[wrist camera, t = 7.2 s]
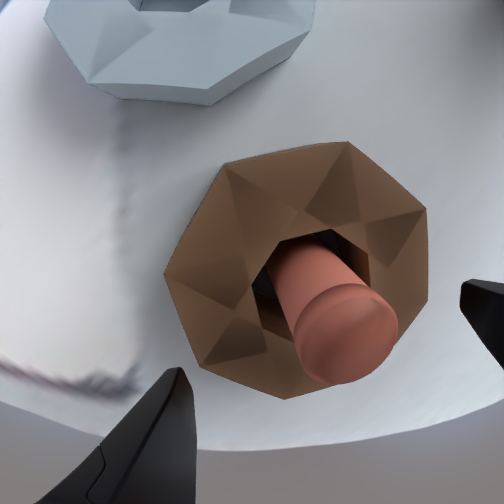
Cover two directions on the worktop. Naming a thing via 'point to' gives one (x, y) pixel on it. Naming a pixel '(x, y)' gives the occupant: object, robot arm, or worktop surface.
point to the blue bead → (177, 45)
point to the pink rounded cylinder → (330, 312)
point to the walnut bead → (281, 228)
